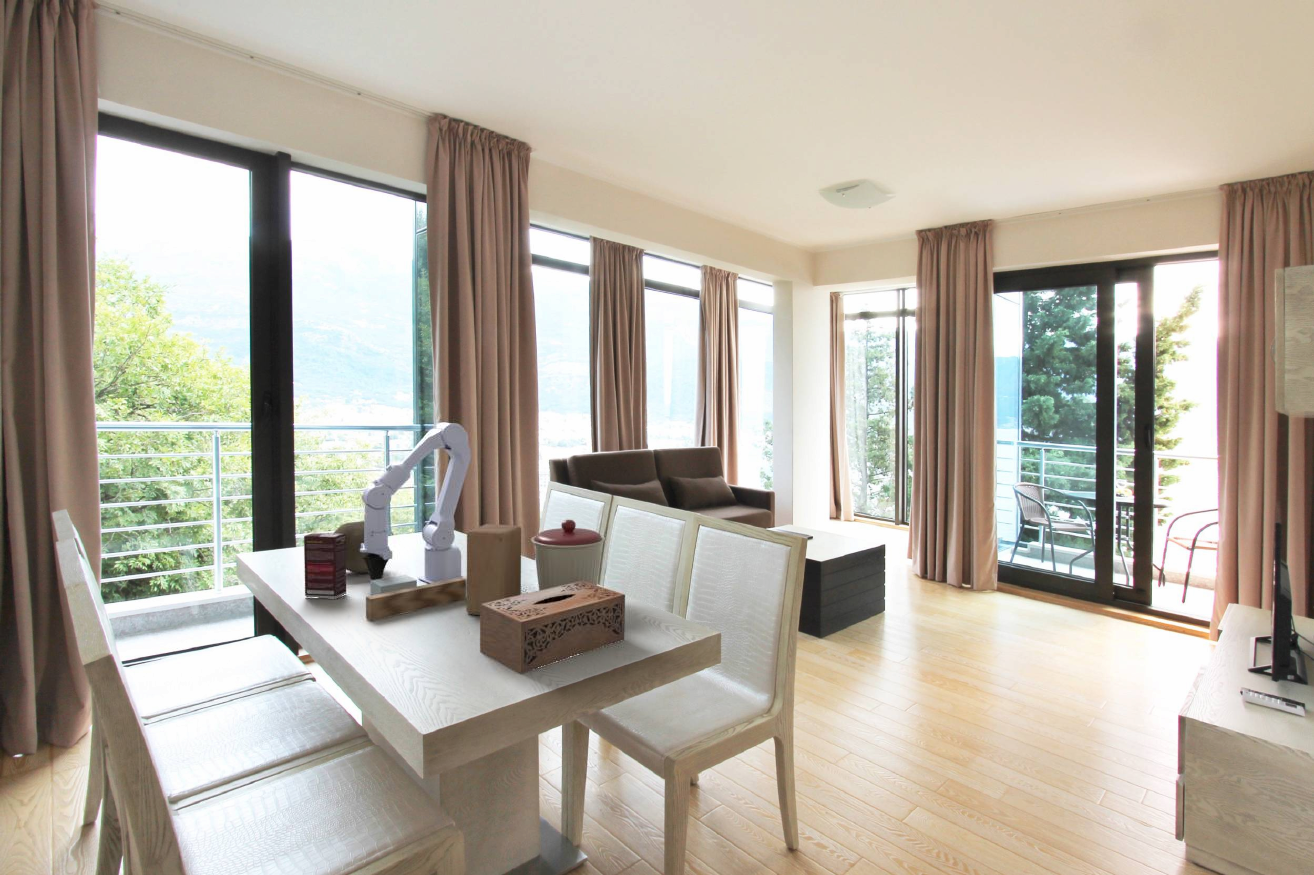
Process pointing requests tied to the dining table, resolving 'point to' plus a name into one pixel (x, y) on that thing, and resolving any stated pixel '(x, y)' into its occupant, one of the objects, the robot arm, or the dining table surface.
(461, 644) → the dining table surface
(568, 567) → the canister
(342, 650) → the dining table surface
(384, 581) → the block
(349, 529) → the cantaloupe
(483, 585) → the wooden block
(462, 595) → the board
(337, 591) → the supplement box
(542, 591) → the tissue box cover
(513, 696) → the dining table surface
